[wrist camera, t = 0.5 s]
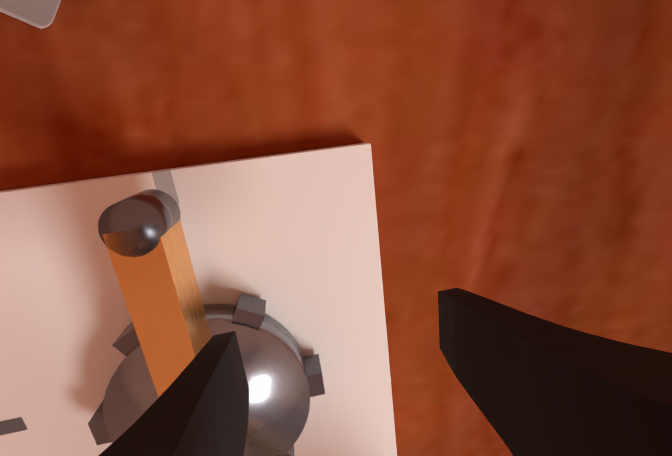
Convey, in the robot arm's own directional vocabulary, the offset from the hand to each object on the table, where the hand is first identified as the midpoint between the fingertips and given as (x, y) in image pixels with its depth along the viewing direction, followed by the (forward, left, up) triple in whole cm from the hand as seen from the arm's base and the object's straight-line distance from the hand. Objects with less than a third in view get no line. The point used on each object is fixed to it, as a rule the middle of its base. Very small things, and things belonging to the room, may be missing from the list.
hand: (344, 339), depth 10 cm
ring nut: (-4, +6, -8) cm, 11 cm away
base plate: (-6, +7, -9) cm, 13 cm away
